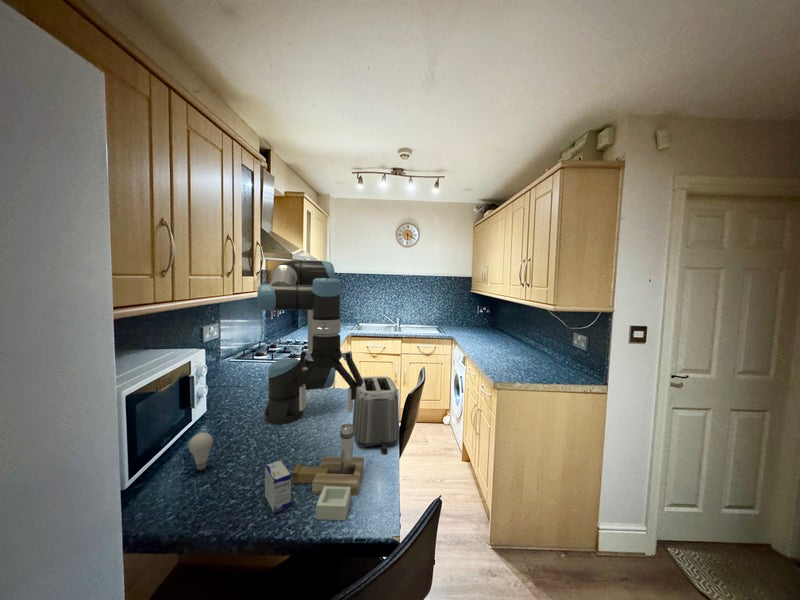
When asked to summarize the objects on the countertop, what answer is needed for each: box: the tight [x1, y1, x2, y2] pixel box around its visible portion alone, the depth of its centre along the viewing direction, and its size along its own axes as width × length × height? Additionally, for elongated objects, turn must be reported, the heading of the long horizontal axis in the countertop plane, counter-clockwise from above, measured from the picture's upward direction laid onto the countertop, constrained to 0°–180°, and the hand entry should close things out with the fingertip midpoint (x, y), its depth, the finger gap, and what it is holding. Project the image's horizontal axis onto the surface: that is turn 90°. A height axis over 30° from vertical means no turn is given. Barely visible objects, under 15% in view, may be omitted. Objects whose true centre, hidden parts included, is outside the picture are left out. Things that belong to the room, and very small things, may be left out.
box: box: [264, 460, 292, 514], centre depth 80 cm, size 8×4×9 cm, turn 38°
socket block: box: [311, 455, 365, 497], centre depth 89 cm, size 12×12×4 cm
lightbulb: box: [188, 432, 214, 471], centre depth 93 cm, size 6×6×11 cm
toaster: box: [352, 376, 400, 455], centre depth 116 cm, size 17×30×19 cm, turn 9°
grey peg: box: [339, 423, 355, 474], centre depth 89 cm, size 4×4×16 cm
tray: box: [315, 486, 352, 521], centre depth 78 cm, size 7×7×4 cm
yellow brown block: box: [291, 462, 329, 485], centre depth 89 cm, size 5×9×3 cm, turn 89°
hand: (326, 409), depth 87 cm, fingers open, 13 cm apart
